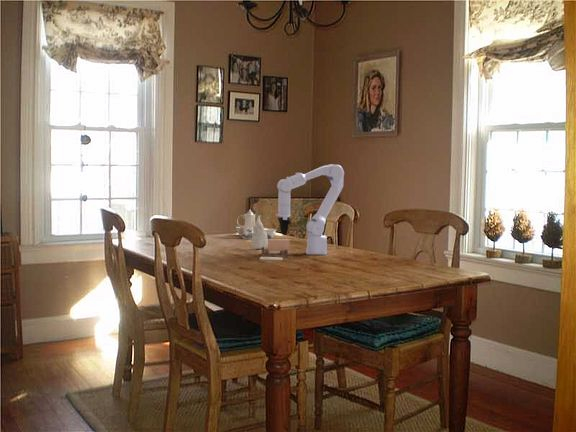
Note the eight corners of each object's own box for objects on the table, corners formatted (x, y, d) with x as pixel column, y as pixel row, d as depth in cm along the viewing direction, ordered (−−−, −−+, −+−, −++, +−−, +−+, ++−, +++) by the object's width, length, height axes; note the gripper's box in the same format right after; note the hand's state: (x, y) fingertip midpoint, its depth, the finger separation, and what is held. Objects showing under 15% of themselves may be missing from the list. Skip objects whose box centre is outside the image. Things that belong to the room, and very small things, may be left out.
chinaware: (281, 240, 389) (282, 211, 389) (268, 241, 374) (269, 210, 374) (237, 237, 400) (239, 209, 400) (223, 237, 385) (224, 207, 385)
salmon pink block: (289, 249, 324) (289, 239, 324) (289, 250, 321) (289, 240, 320) (267, 249, 324) (268, 239, 323) (268, 250, 320) (268, 240, 320)
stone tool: (252, 250, 339) (252, 219, 338) (250, 249, 342) (250, 219, 341) (268, 249, 342) (269, 219, 341) (266, 248, 345) (267, 218, 344)
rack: (286, 254, 327) (286, 247, 327) (287, 257, 318) (288, 250, 318) (261, 254, 326) (261, 247, 326) (261, 257, 317) (261, 249, 317)
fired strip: (282, 260, 313) (282, 257, 313) (281, 261, 310) (281, 258, 310) (260, 259, 315) (260, 256, 315) (259, 260, 311) (259, 257, 311)
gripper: (275, 203, 332) (274, 231, 333) (276, 206, 317) (276, 235, 319) (289, 203, 332) (289, 231, 334) (291, 206, 318) (291, 235, 319)
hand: (283, 233), depth 326 cm, fingers open, 7 cm apart
